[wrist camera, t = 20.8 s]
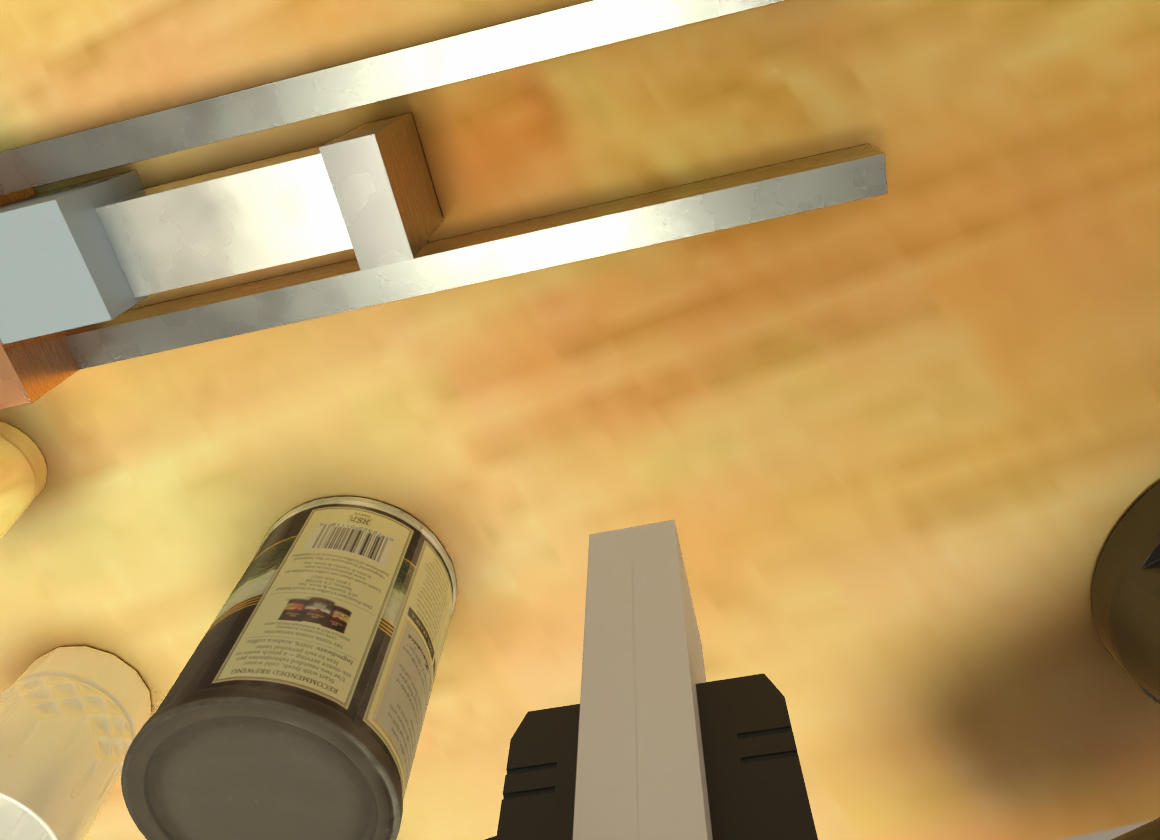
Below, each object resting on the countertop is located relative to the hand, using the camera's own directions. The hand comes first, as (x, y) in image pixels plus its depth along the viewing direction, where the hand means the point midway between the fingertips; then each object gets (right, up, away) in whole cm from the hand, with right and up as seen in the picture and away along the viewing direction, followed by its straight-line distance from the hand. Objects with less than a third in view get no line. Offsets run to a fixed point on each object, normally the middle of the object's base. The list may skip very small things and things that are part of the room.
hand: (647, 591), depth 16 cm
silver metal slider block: (-13, +12, +22) cm, 28 cm away
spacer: (-21, +11, +23) cm, 33 cm away
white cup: (-28, -12, +34) cm, 46 cm away
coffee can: (-12, -5, +30) cm, 33 cm away
